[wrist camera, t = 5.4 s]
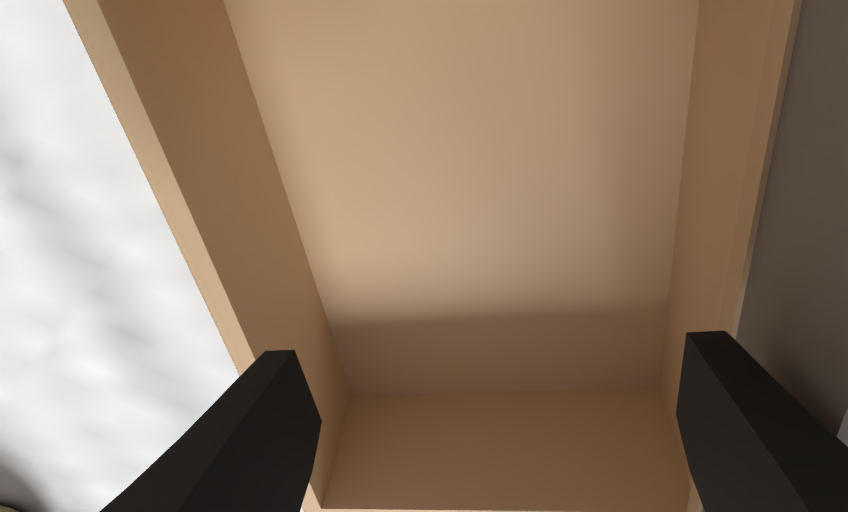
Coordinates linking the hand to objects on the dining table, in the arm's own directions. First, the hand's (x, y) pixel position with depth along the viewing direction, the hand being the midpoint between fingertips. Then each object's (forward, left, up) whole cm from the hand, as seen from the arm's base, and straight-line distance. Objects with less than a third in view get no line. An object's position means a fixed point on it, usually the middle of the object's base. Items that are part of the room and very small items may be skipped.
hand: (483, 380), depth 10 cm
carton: (0, 0, -7) cm, 7 cm away
